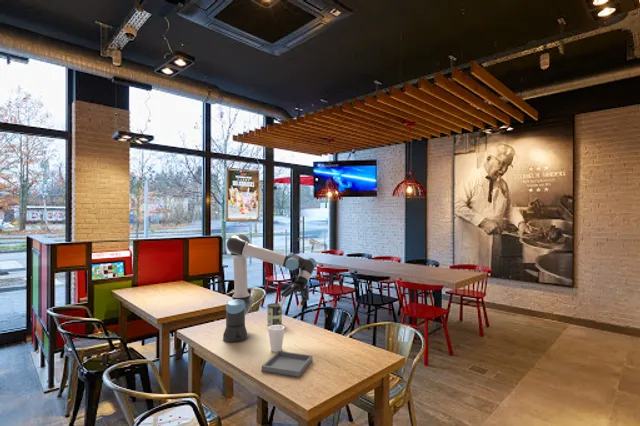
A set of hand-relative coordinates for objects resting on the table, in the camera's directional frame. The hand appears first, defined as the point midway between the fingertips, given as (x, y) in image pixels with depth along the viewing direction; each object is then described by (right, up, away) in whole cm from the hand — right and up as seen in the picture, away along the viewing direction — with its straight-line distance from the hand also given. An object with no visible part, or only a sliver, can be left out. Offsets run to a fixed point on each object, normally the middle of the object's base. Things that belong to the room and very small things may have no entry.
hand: (289, 307), depth 212 cm
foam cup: (-7, -22, -10) cm, 25 cm away
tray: (+2, -22, -32) cm, 38 cm away
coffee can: (-14, -22, +34) cm, 43 cm away
